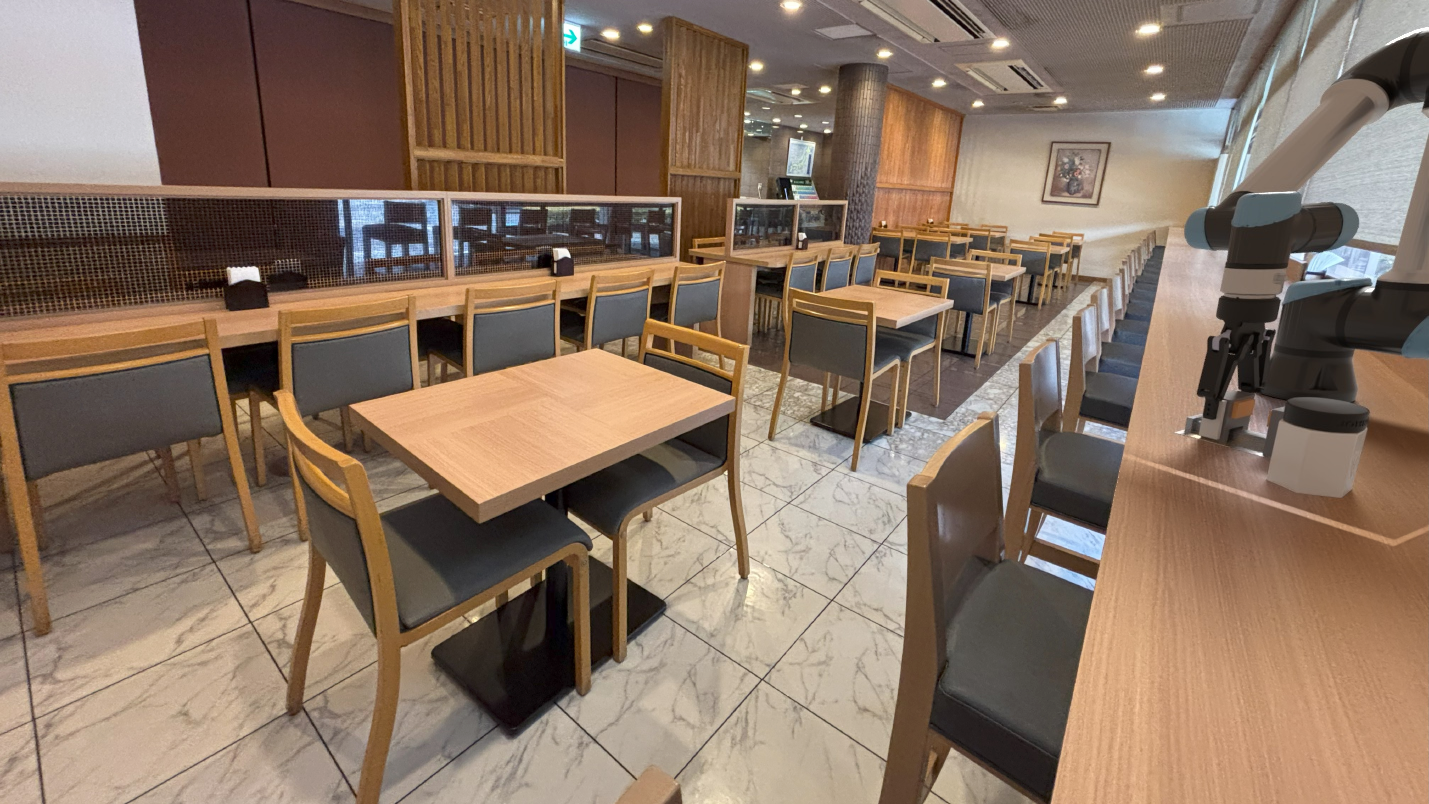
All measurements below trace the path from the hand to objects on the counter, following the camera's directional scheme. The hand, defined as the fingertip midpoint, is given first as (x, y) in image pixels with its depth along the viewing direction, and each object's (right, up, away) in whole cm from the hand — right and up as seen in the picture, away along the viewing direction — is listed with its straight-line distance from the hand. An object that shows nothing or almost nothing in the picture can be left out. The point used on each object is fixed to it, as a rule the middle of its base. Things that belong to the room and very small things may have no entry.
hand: (1223, 432), depth 104 cm
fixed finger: (+3, -3, -8) cm, 9 cm away
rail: (+2, -2, -4) cm, 5 cm away
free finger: (0, -1, 0) cm, 1 cm away
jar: (-3, -7, -18) cm, 20 cm away
